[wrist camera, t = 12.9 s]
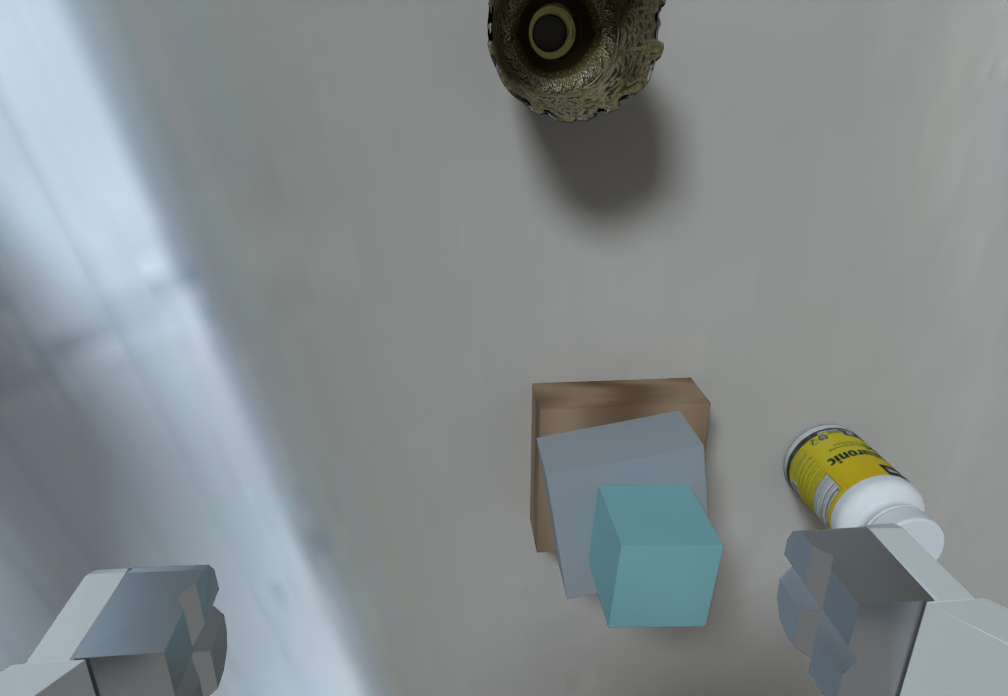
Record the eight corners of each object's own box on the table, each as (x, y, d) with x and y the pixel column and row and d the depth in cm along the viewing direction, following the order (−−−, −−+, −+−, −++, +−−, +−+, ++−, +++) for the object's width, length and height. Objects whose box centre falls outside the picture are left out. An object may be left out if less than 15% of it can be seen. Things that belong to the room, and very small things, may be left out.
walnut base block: (529, 514, 48) (536, 552, 44) (531, 380, 44) (540, 410, 40) (673, 506, 49) (692, 543, 45) (688, 374, 45) (710, 403, 41)
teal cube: (588, 561, 40) (608, 627, 35) (598, 485, 38) (621, 545, 33) (674, 560, 40) (705, 626, 36) (688, 486, 38) (723, 545, 34)
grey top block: (556, 554, 44) (567, 599, 40) (536, 437, 41) (546, 475, 37) (688, 528, 44) (711, 570, 41) (679, 410, 41) (703, 445, 37)
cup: (613, 113, 38) (655, 126, 30) (475, 107, 37) (484, 119, 30) (628, -46, 35) (679, -73, 28) (479, -55, 34) (491, -86, 27)
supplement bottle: (871, 426, 47) (974, 514, 38) (842, 494, 49) (935, 594, 40) (796, 416, 46) (883, 504, 37) (770, 487, 48) (847, 586, 39)
